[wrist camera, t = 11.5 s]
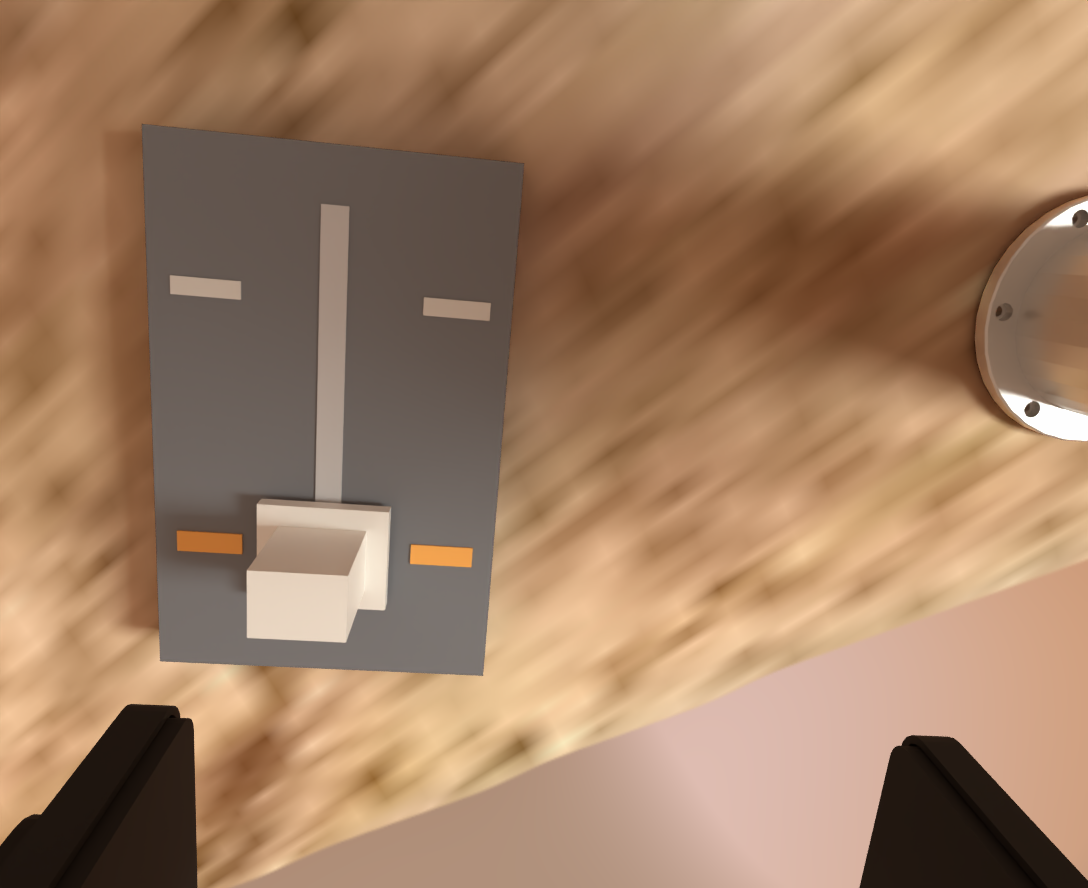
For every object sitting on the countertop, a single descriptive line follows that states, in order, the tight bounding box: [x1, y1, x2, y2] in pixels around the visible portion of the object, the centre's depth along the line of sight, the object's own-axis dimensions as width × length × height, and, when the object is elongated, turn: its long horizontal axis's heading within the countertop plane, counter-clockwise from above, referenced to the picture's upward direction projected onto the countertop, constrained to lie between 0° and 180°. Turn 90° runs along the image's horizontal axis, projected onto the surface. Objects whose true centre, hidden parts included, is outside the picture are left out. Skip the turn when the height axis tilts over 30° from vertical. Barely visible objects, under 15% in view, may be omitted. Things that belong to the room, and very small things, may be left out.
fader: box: [247, 499, 391, 643], centre depth 35 cm, size 6×5×6 cm
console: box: [142, 124, 524, 676], centre depth 38 cm, size 16×25×3 cm, turn 175°
